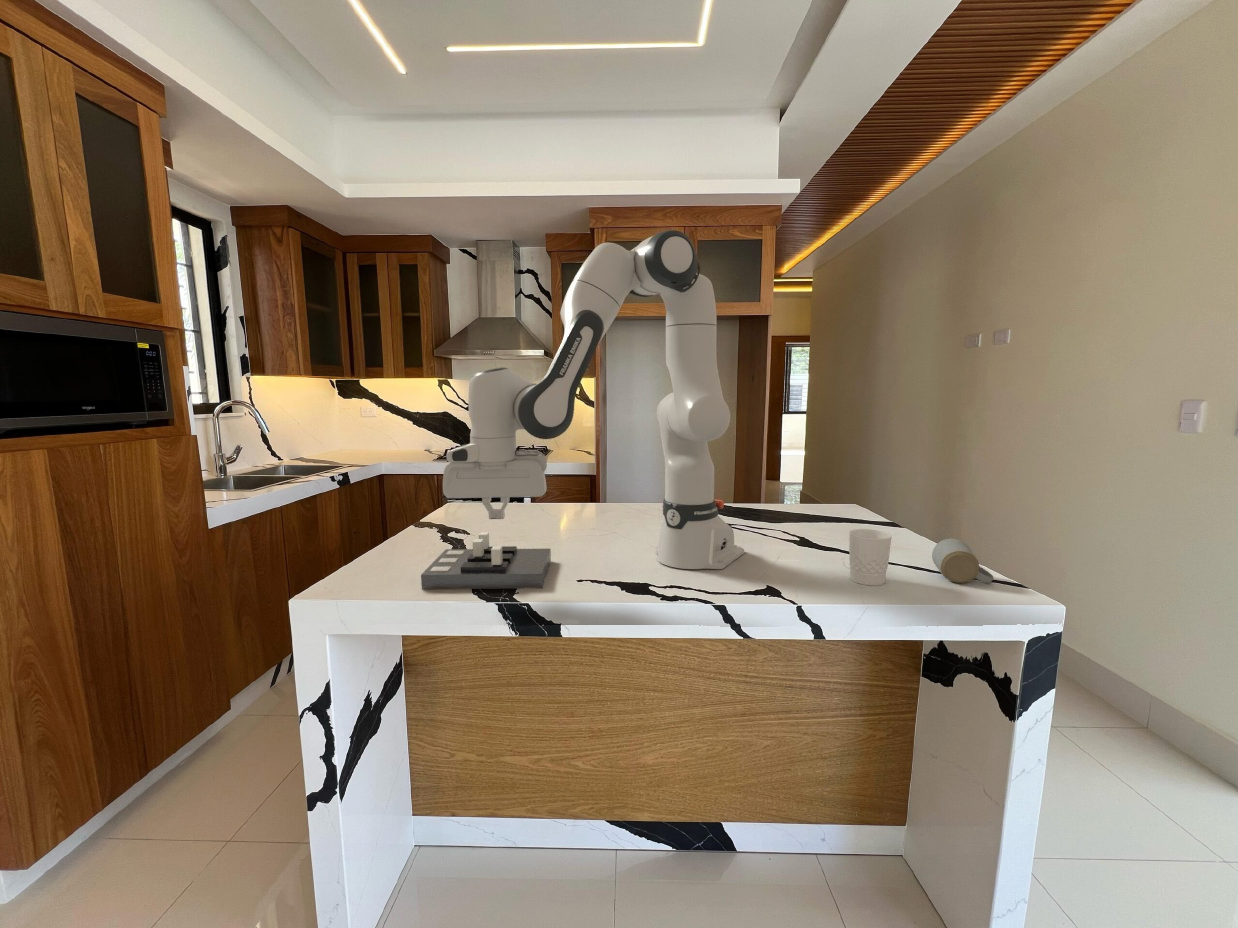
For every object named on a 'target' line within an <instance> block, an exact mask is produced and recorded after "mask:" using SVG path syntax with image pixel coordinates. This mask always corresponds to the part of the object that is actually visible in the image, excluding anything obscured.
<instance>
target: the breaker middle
mask: <svg viewBox="0 0 1238 928" xmlns="http://www.w3.org/2000/svg"><path fill="white" fill-rule="evenodd" d="M472 549H473V557H481V556H482V555H483V554H484V542H483V539H479V538H475V539H473V541H472Z"/></svg>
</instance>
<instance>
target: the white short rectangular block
mask: <svg viewBox="0 0 1238 928" xmlns="http://www.w3.org/2000/svg"><path fill="white" fill-rule="evenodd" d="M478 539H483V542H484V549H487V548H488V547H490V532H489V531H487V532H486V531H484V532H483V531H481V532H480V533H479V534H478Z"/></svg>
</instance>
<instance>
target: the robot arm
mask: <svg viewBox="0 0 1238 928" xmlns="http://www.w3.org/2000/svg"><path fill="white" fill-rule="evenodd" d="M629 294H631V295H633V296H636V297H643V298H649V297H652V296H655V295H659V296H660V297H661V299H662V301H663V303H664V308H665V312H666V315H665V365H666V367H667V369H668V372H669V376H670V380H671V387H672V392H671V393H668V394H667V395H666V396H664V397H663V398H662V399H661V400H660V402H659V403H658V405H657V408H656V420H657V422H658V424H659V425H658V426H659V429H660V430H659V431H660V441H661V446H662V451H663V452H662V453H663V458H664V469H665V472H664V473H665V474H664V476H665V477H664V483H665V484H664V495H665V496H664V499H663V500H662V515H663V516H664V517H663V519H661V521H660V529H659V539H658V546H657V547H655V553H656V555H657V557H656V558H657V560H658V562H659V563H660V564H662V565H665V566H667V567H671V568H677V569H683V570H702V569H703V570H705V569H709V570H710V569H711V570H722V569H724V568H725V567H727V566H728V565H730V564H732V563H733V562H734V561H735V560H736V559H738V558H740V557H741V556H742V555H744V554H745V548H743V547H741V546H739V545H737V544H735V533H734V529H733V528H732V527H731V526H730V525H729V524H728V523H727V522H725V520H724V519H722V518H721V517H720V516H719V511H718V509H723V508H724V506H725V501H724V500H723V499H718V498H717V499H714V495H715V466H714V465H715V464H714V462H713V460H712V457H711V454H710V449H709V445H708V442H712V441H714V440H717V439H719V438H721V437H722V436H723V435H724V434H726V431H727V430H728V429H729V426H730V423H731V411H730V408H729V405H728V404H727V402H726V401H725V399H724V395H723V390H722V385H721V380H720V376H719V370H718V362H717V361H718V360H717V358H718V357H717V339H718V338H717V335H718V334H717V306H716V298H715V292H714V287H713V283H712V281H711V280H710V279H709V278H708V277H707V276H705V275H703V274H701V264H700V263H699V261H698V255H697V251H696V248H695V245H694V243H693V242H692V240H691V239H690V237H689V236H688V235H687V234H686V233H684V232H682V231H679V230H675V229H667V230H662V231H658V232H656V233H655V234H654V235H652V236H649V237H648V238H645V239H644V240H642V241H640V243H639V244H638V245H636V246H635V247H634V248H632V249H631V250H628V249H626V248H625V247H623V246H621V245H619V244H618V243H615V242H602V243H600V244H598V245H597V246H596V247H595V248H594V249H593V250H592V252H591V253H590V254H589V255H588V257H586V259H585V260H584V262H583V263H582V264H581V267H579V270H578V271H577V273H576V274H575V276H574V278H573V279H572V282H571V283H570V285H569V287H568V289H567V292H566V294H565V296H564V299H563V302H562V305H561V308H560V313H559V315H560V319H561V322H562V324H563V330H564V331H563V338H562V341H561V343H560V346H559V347H558V349H557V351H556V353H555V355H554V358H553V360H552V361H551V364H549V365H550V366H549V368H548V370H547V371H546V374H545V375H544V377H543V378H542V379H541V380H540V381H539V382H537V383H536V382H533V381H530V380H528V379H526V378H524V377H521V376H519V375H517V374H516V373H514V372H513V371H511V370H510V369H509V368H508V367H496V368H490V369H484V370H480V371H478V372H476V373H475V374H473V375H472V377H471V378H470V381H469V383H468V384H469V385H468V399H467V400H468V403H467V404H468V416H469V418H470V422H471V423H470V424H471V427H470V429H471V430H470V433H469V436H470V437H469V443H464V444H462V445H460V446H457V447H455V448H453V449H450V450H449V451H447V452H446V461H447V462H448V463H447V464H446V465H445V467H444V470H443V476H442V492H443V493H442V494H443V495H444V496H445V497H446V498H447V499H472V498H473V499H478V498H479V499H480V498H481V502H482V505H483V506H484V508H485V509H486V511H487V512H488V519H489V520H504V519H505V517H506V513H505V510H506V507H507V506H508V504H509V502H510V498H537V497H538V498H540V497H541V498H542V497H543V495H545V494H546V492H547V482H546V481H547V480H546V479H547V478H546V473H545V472H546V469H547V465H548V464H547V456H546V455H545V454H544V453H543V452H540V450H537V449H533V450H525V449H524V450H521V449H518V450H517V440H516V439H517V436H516V432H518V430H524V431H526V433H528V434H529V435H531V436H532V437H534V438H537V439H540V440H552V439H555V438H557V437H558V438H559V437H560V436H561V435H562V434H564V433H565V432H566V431H567V430H568V429H569V427H570V426H571V423H572V421H573V418H574V415H575V402H576V401H575V400H576V395H577V392H578V388H579V387H580V384H581V382H582V380H583V377H584V375H585V374H586V371H587V369H588V368H589V364H590V363H591V360H592V359H593V356H594V354H595V352H596V349H597V347H598V346H599V344H600V343H601V341H602V340H603V338H604V336H605V334H606V333H607V332H608V330H609V328H610V327H611V325H612V324H613V322H614V320H615V319H616V317H617V315H618V313H619V312H620V309H621V308H622V306H623V303H624V301H625V299H626V297H628V295H629ZM492 498H500V503H502V505H501V507H500V508H494V507H493V506H492V504H491V503H490V502H491V501H492Z"/></svg>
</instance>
